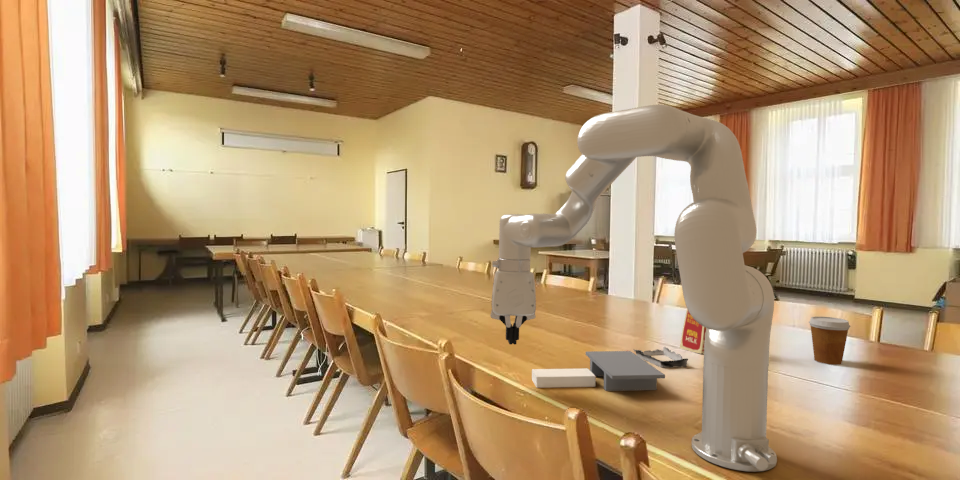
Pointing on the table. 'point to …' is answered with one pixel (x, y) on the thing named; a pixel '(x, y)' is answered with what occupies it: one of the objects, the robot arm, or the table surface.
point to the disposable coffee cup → (829, 339)
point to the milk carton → (692, 335)
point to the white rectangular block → (563, 378)
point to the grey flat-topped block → (623, 370)
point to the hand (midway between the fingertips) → (512, 342)
